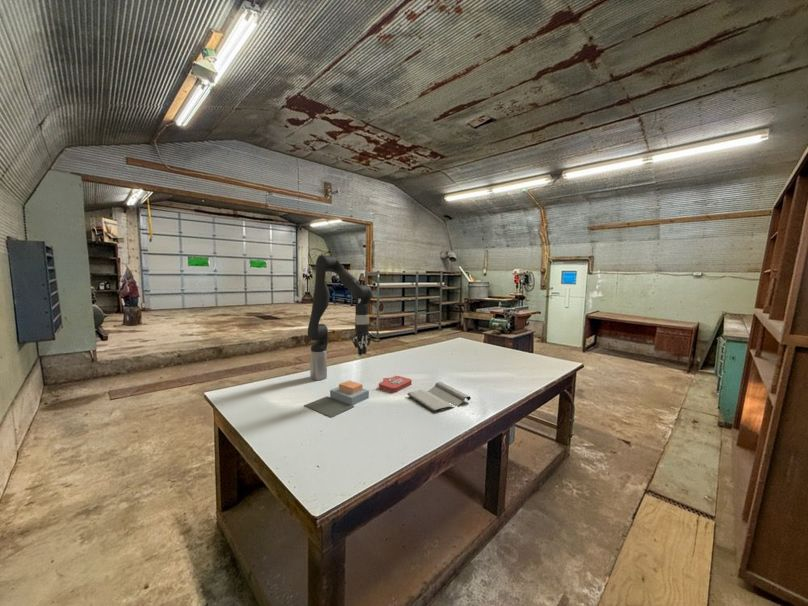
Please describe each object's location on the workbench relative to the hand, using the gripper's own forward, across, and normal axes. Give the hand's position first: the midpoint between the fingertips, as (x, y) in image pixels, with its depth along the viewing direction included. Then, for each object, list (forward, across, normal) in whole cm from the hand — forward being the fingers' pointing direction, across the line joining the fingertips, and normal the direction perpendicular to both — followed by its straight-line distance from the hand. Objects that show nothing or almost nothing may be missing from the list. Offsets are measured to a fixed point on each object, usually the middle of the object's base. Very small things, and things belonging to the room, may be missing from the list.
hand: (362, 354), depth 169 cm
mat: (+22, -17, +38) cm, 47 cm away
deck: (+21, +10, 0) cm, 23 cm away
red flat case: (+22, -18, +7) cm, 29 cm away
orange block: (+17, +8, 0) cm, 19 cm away
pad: (+21, +23, 0) cm, 31 cm away
